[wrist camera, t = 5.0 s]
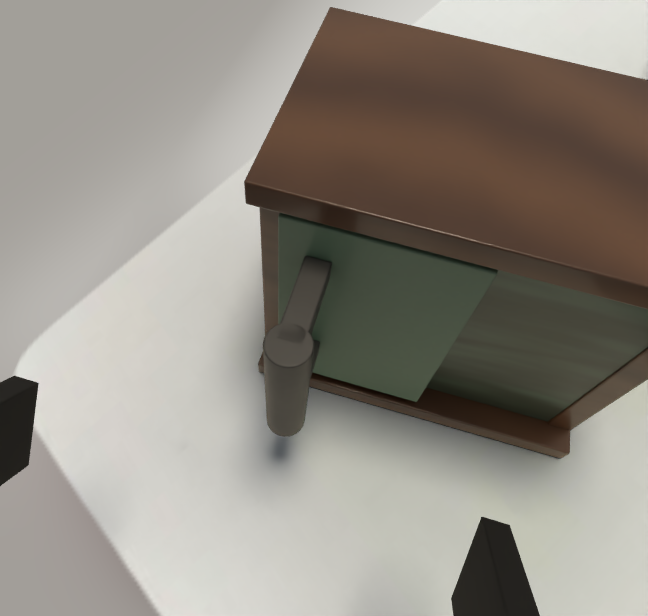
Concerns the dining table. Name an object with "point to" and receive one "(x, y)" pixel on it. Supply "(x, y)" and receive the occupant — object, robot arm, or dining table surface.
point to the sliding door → (360, 315)
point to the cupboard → (478, 211)
